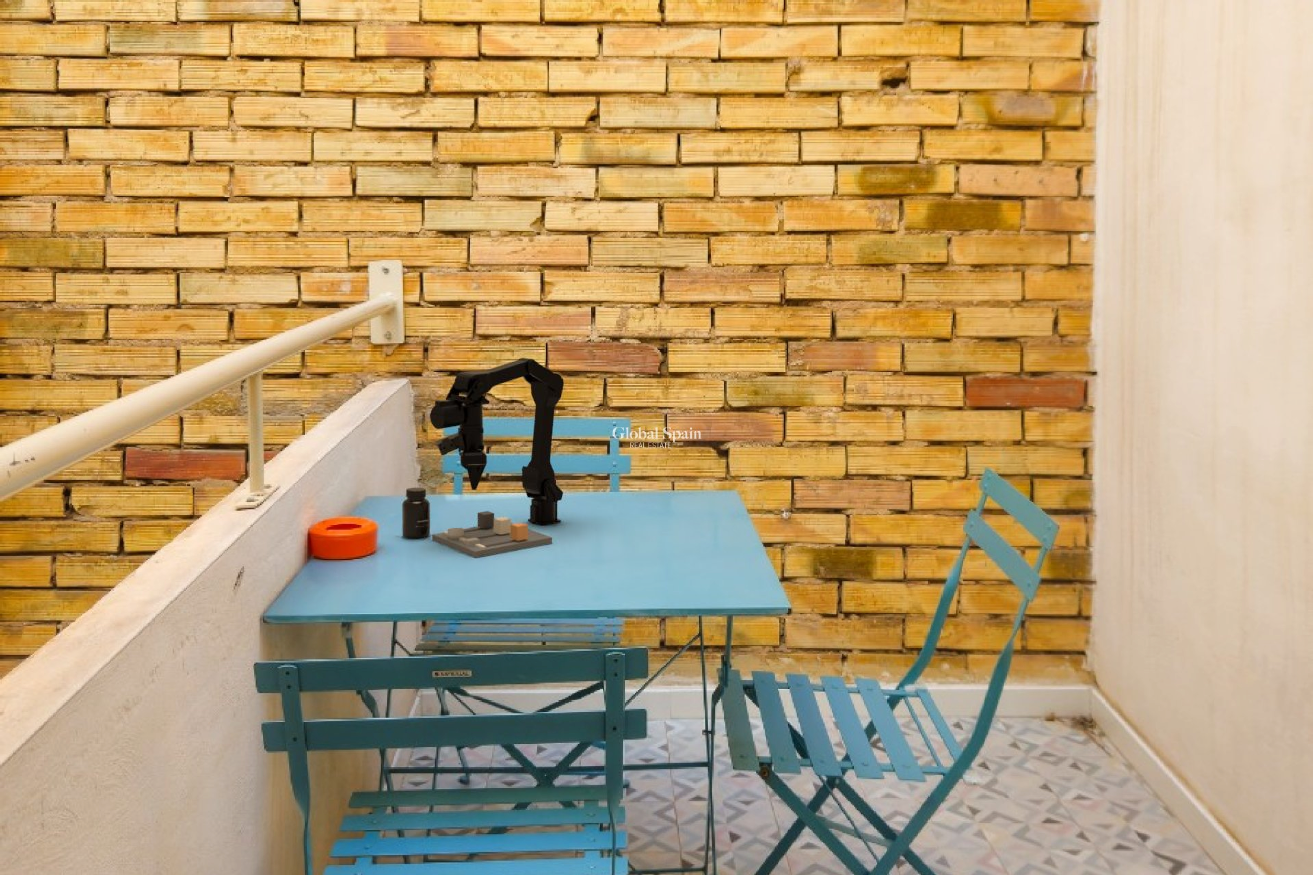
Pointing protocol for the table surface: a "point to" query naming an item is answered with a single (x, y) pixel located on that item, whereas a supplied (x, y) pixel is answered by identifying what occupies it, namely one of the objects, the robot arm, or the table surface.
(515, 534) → the orange slider
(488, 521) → the dark brown slider
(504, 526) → the ivory slider
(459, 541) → the control board
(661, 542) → the table surface
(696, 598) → the table surface
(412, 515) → the supplement bottle
